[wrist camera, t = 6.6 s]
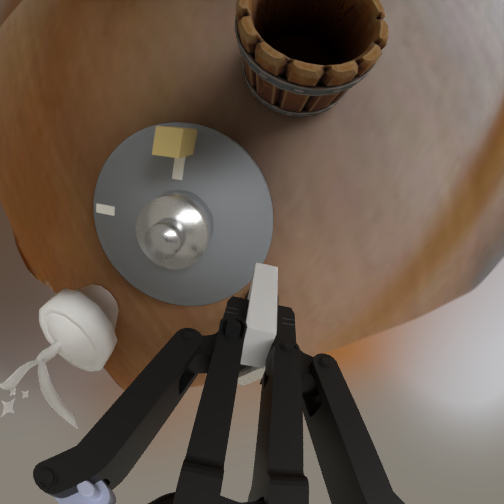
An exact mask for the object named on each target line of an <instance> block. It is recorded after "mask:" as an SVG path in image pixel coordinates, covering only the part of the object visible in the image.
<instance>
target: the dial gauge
mask: <svg viewBox="0 0 504 504" xmlns="http://www.w3.org/2000/svg"><path fill="white" fill-rule="evenodd" d="M248 294H249V292H248ZM248 294H247V297H246V299H247V300H248ZM277 305H278V295H277ZM265 365H266V364H265ZM264 371H265V366H264V368H258V367H253V366H248V365H243V364H240V369H239V376H238V382H237V383H239V384H240V385H241V386H244V385H246V384H249V383H251V382H254V381H256V380H259V379H261V378H262V377H263V374H264Z"/></svg>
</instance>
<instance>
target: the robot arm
mask: <svg viewBox="0 0 504 504" xmlns="http://www.w3.org/2000/svg"><path fill="white" fill-rule="evenodd" d="M277 293H278V267H275V266H271V265H266V264H261V263H257V262H256V265H255V269H254V273H253V278H252V282H251V286H250V290H249V294H248V300H247V299H243V298H238V297H234V296H233V297H231V298H230V299H229V300H228V302H227V306H226V310H225V313H224V317H223V318H222V320H221V321H220V325H219V331H218V332H217V333H215V334H213V335H208V336H202V335H201V334H200V333H199V332H198V331H197V330H195V329H191V328H184V329H180V330H179V331H177V332H176V334H175V335H174V336H173V337H172V338H171V339H170V340H169V341H168V343H167V344H166V345H165V346H164V347H163V348H162V349H161V351H160V352H159V353H158V354H157V355H156V356H155V357H154V358H153V360H152V361H151V362H150V363H149V364H148V365H147V366H146V367H145V369H144V370H143V371H142V372H141V373H140V374H139V375H138V377H137V378H136V379H135V380H134V381H133V382H132V383H131V385H130V386H129V387H128V388H127V389H126V390H125V391H124V392H123V394H122V395H121V396H120V397H119V398H118V399H117V400H116V402H115V403H114V404H113V405H112V406H111V407H110V408H109V410H108V411H107V412H106V413H105V414H104V415H103V417H102V418H101V419H100V420H99V421H98V422H97V423H96V424H95V426H94V427H93V428H92V429H91V430H90V431H89V432H88V434H87V435H86V436H85V437H84V438H83V439H82V441H81V442H80V443H79V444H78V445H77V446H75V447H73V448H71V449H69V450H67V451H65V452H62V453H60V454H58V455H56V456H54V457H51V458H49V459H47V460H45V461H42V462H40V463H39V464H37V465H36V466H35V469H34V471H33V477H34V480H35V483H36V484H37V485H38V487H39V488H40V489H41V490H43V491H44V492H46V493H48V494H50V495H52V496H53V497H54V498H55V499H56V500H57V502H58V503H59V504H115V503H116V497H115V495H114V493H113V491H112V490H113V489H114V488H115V487H116V486H117V485H118V484H120V483H121V482H122V481H123V479H124V478H125V477H126V476H127V475H128V473H129V472H130V470H131V469H132V468H133V466H134V465H135V464H136V462H137V461H138V459H139V458H140V457H141V455H142V454H143V453H144V451H145V450H146V448H147V447H148V446H149V444H150V443H151V441H152V440H153V439H154V437H155V435H156V434H157V433H158V431H159V430H160V428H161V427H162V426H163V424H164V423H165V421H166V420H167V419H168V417H169V416H170V414H171V413H172V411H173V410H174V408H175V407H176V406H177V404H178V403H179V401H180V400H181V398H182V397H183V395H184V394H185V393H186V391H187V390H188V388H189V387H190V385H191V384H192V382H193V381H194V379H195V378H196V376H197V375H198V373H207V377H206V380H205V384H204V388H203V392H202V396H201V400H200V403H199V407H198V411H197V415H196V418H195V422H194V426H193V430H192V434H191V438H190V442H189V446H188V449H187V454H186V457H185V460H184V462H183V465H182V469H181V472H180V477H179V480H178V484H177V488H176V492H174V493H169V494H166V495H163V496H161V497H159V498H157V499H156V500H154V501H152V502H150V503H148V504H309V483H308V479H307V477H305V476H304V473H303V413H304V417H305V420H306V423H307V426H308V430H309V433H310V436H311V439H312V442H313V445H314V449H315V451H316V455H317V458H318V462H319V465H320V468H321V471H322V475H323V478H324V481H325V484H326V487H327V490H328V494H329V497H330V500H331V503H332V504H404V503H403V501H402V500H401V499H400V498H399V497H398V496H397V495H396V494H395V493H394V492H393V490H392V488H391V485H390V483H389V480H388V478H387V475H386V473H385V471H384V468H383V466H382V463H381V461H380V459H379V456H378V454H377V452H376V449H375V447H374V444H373V442H372V440H371V437H370V435H369V433H368V431H367V428H366V426H365V424H364V421H363V419H362V417H361V415H360V412H359V410H358V408H357V406H356V404H355V401H354V399H353V397H352V395H351V393H350V390H349V388H348V386H347V384H346V381H345V379H344V377H343V375H342V373H341V371H340V368H339V366H338V364H337V362H336V361H335V359H334V358H333V357H331V356H330V355H327V354H322V353H321V354H317V355H316V356H314V357H312V356H309V355H307V354H305V353H303V352H302V351H301V350H300V348H299V346H298V345H297V343H296V332H295V315H294V312H293V311H292V309H291V308H289V307H284V306H279V305H277ZM240 364H243V365H248V366H253V367H258V368H264V366H265V371H264V374H263V377H262V379H261V382H260V384H262V391H261V402H260V413H259V424H258V434H257V443H256V454H255V463H254V472H253V481H252V487H251V490H250V493H249V498H248V502H245V503H239V502H236V501H233V500H231V499H228V498H225V497H223V496H220V493H221V487H222V480H223V474H224V461H225V455H226V449H227V443H228V437H229V431H230V425H231V419H232V413H233V407H234V401H235V394H236V388H237V382H238V376H239V369H240ZM265 364H266V365H265ZM302 410H303V411H302Z"/></svg>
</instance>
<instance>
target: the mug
mask: <svg viewBox="0 0 504 504" xmlns="http://www.w3.org/2000/svg"><path fill="white" fill-rule="evenodd" d="M384 17H385V13H384V9H383V7H382V5H381V3H380V1H379V0H238V1H237V5H236V18H235V32H236V38H237V41H238V45H239V48H240V52H241V54H242V56H243V59H242V69H243V73H244V77H245V81H246V84H247V85H248V87H249V89H250V90H251V92H252V94H253V95H254V96H255V97H256V98H257V99H258V100H259V101H260V102H261V103H262V104H263V105H265V106H267V107H269V108H270V109H272V110H274V111H276V112H279V113H282V114H285V115H288V116H300V117H304V116H311V115H317V114H319V113H322V112H324V111H326V110H329V109H330V108H331V107H333V106H334V105H335V104H336V103H338V102H339V101H340V100H341V99H342V98H343V96H344V95H345V94H346V92H347V91H348V89H349V88H351V87H353V86H354V85H355V84H357V83H358V82H359V81H361V80H362V79H363V78H364V77H365V76H366V75H368V74H369V73H370V72H371V70H372V69H373V67H374V66H375V64H376V63H377V61H378V60H379V57H380V56H381V55H382V52H381V50H382V49H383V48H384V47H385V46H386V43H387V39H388V25H387V24H386V22H385V21H384V20H382V19H383V18H384Z"/></svg>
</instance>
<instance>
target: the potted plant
mask: <svg viewBox="0 0 504 504" xmlns="http://www.w3.org/2000/svg"><path fill="white" fill-rule="evenodd" d="M118 313H119V310H118V305H117V302H116V300H115V299H114V297H113V296H112V295H111V293H110V292H109V291H107V290H106V289H105V288H103V287H102V286H99V285H94V284H91V285H88V286H85V287H82V288H80V289H77V290H70V289H66V288H64V289H63V290H61V291H60V292H58V293H57V294H55V295H54V296H53V297H52V298H51V299H50V300H49V301H48V302H47V303H46V304H45V305H44V306H42V307H41V308H40V309H39V324H40V326H41V329H42V331H43V333H44V335H45V338H46V339H47V341H49V343H50V344H51V346H49V347H48V348H46V349H44V350H43V351H41V352H40V354H39V355H38V356H37V358H36V360H34V361H30V362H27V363H26V364H24V365H22V366H21V367H19V368H18V369H17V370H16V371H15V372H14V373H13V374H12V375H11V376H10V377H9V378H8V379H7V380H6V381H5V382H3V383H0V388H2V389H4V390H9V389H14V388H15V386H16V385H17V384H18V382H19V381H20V380H21V379H22V377H23V376H24V374H25V373H26V372H27V371H28V369H30V368H31V367H33V366H35V365H37V364H38V379H39V384H40V388H41V392H42V394H43V396H44V397H45V399H46V401H47V402H48V403H49V405H50V406H51V407H52V408H53V409H54V410H55V411H56V412H57V413H58V414H59V415H60V416H61V417H62V418H64V419H65V420H66V421H67V422H68V423H70V424H71V425H72V426H74V427H75V428H77V429H79V428H78V426H77V423H76V421H75V419H74V416H73V415H72V413H71V412H70V411H69V410H68V408H67V407H66V406H65V405H64V403H63V402H62V400H61V399H60V397H59V396H58V394H57V392H56V391H55V389H54V388H53V386H52V383H51V380H50V377H49V373H48V370H47V367H46V363H47V362H48V361H49V360H50V359H52V358H53V357H54V356H56V354H57V353H58V354H59V355H60V356H61V357H63V358H64V359H65V360H67V361H68V362H69V363H71V364H72V365H73V366H75V367H77V368H81V369H83V370H85V371H88V372H93V371H99V370H102V368H103V366H104V365H105V363H106V362H107V360H108V358H109V357H110V355H111V354H112V352H113V350H114V348H115V345H116V343H117V338H116V335H115V332H114V330H115V326H116V321H117V317H118ZM15 390H16V389H14V390H10V392H11V394H10V396H11V395H15ZM22 392H23V391H22ZM24 397H28V391H27V392H23V398H24ZM14 400H15V398H14V399H13V400H12V401H10V402H7V403H6V402H3V401H2V400H1V401H2V402H3V405H4V410H3V413H2V416H3V415H4V414H5V413H7V412H13V413H14V411H13V403H14ZM2 416H1V417H2Z"/></svg>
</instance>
